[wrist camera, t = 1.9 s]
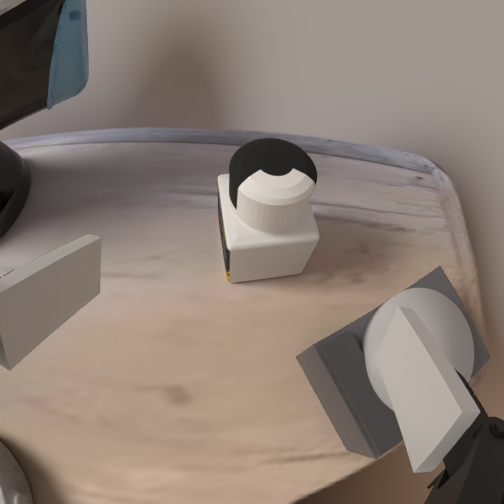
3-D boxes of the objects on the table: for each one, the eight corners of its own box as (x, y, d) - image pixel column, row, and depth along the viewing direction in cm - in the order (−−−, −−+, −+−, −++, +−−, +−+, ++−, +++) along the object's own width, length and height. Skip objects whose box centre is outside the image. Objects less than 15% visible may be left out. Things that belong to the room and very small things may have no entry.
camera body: (295, 356, 27) (318, 340, 20) (409, 289, 30) (449, 258, 24) (347, 450, 23) (385, 461, 16) (452, 368, 27) (500, 353, 20)
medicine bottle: (218, 218, 32) (216, 130, 22) (286, 212, 33) (311, 125, 23) (227, 284, 29) (228, 211, 19) (302, 274, 30) (341, 201, 20)
